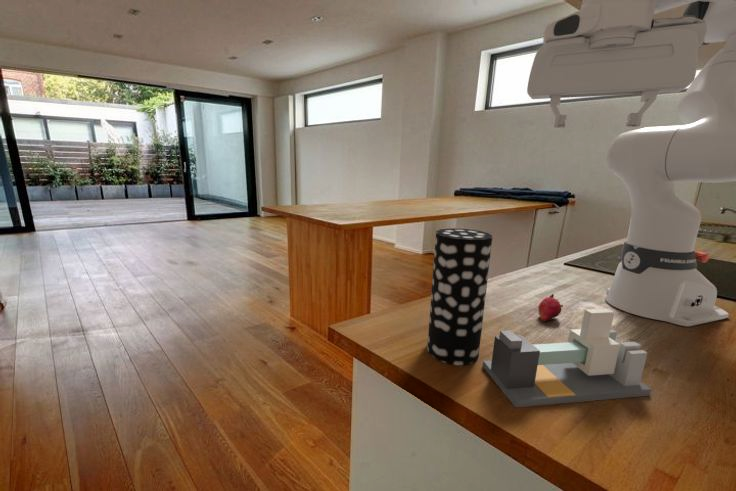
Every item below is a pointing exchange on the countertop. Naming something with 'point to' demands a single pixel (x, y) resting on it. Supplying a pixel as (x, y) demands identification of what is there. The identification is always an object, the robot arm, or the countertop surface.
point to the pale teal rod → (561, 353)
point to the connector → (514, 360)
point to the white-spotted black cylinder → (458, 294)
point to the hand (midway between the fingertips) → (594, 127)
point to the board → (567, 386)
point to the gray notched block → (628, 362)
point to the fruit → (549, 308)
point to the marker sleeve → (596, 342)
